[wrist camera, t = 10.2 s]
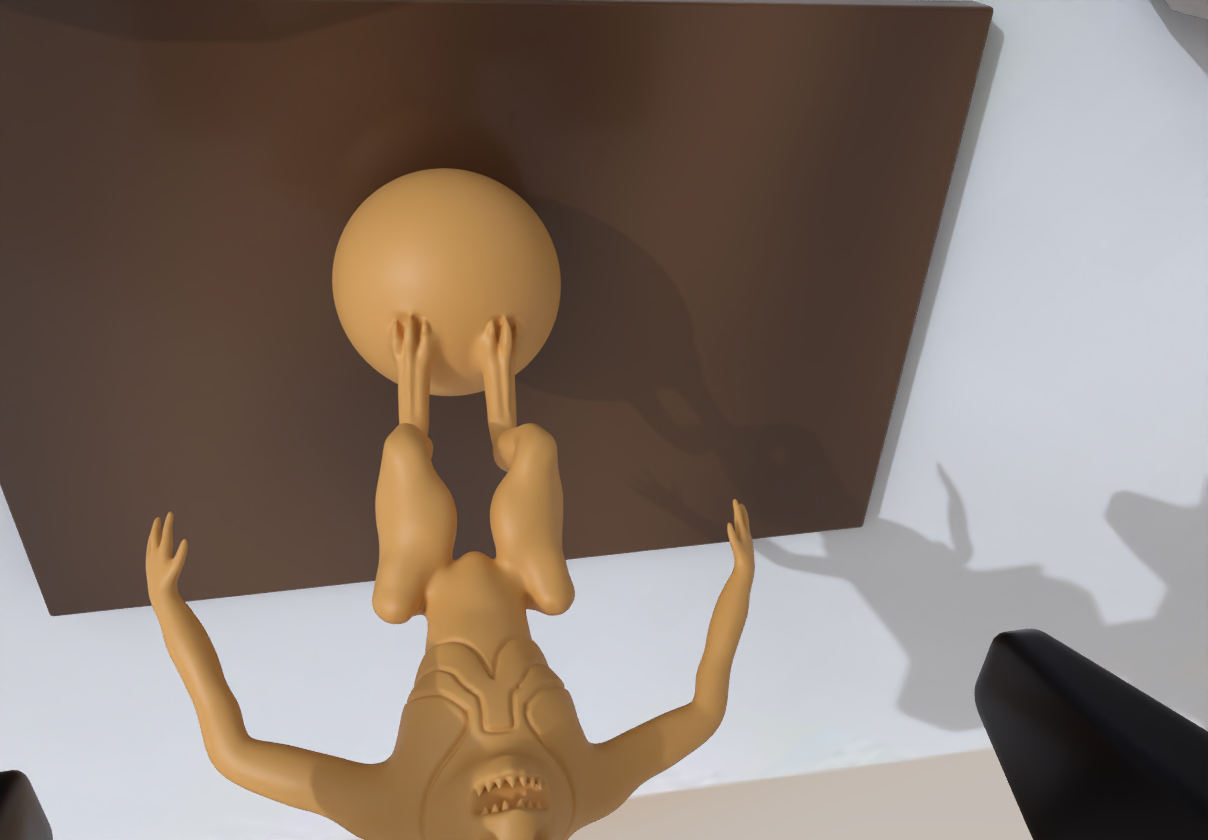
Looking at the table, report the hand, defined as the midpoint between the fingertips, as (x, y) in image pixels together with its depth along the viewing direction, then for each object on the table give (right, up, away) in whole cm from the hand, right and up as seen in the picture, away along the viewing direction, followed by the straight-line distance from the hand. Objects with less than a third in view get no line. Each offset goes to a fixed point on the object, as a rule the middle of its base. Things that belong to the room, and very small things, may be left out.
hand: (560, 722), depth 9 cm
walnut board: (-2, +5, +11) cm, 13 cm away
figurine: (-3, +6, +10) cm, 12 cm away
